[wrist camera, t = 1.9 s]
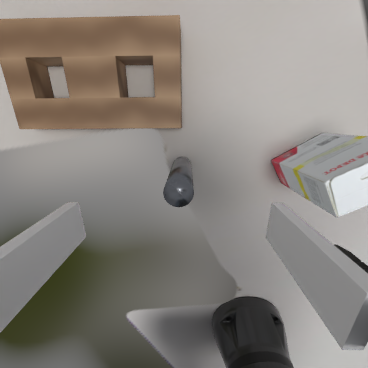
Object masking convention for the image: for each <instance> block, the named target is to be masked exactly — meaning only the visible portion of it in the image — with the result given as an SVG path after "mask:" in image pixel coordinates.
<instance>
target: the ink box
mask: <svg viewBox="0 0 368 368" xmlns="http://www.w3.org/2000/svg"><path fill="white" fill-rule="evenodd" d="M271 162H272V164H273V166H274V168H275V170H276V173H277V175H278V177H279V179H280V181H281V183H282V184H284V185H285V186H287V187H288V188H290V189H292V190H293V191H295V192H297V193H298V194H300V195H301V196H303V197H304V198H306V199H308V200H309V201H311V202H312V203H314V204H316V205H317V206H319V207H320V208H322V209H324V210H325V211H327V212H329V213H330V214H332V215H333V216H335V217H336V218H338V217H340V216H342V215H345V214H347V213H350V212H352V211H355V210H357V209H360V208H362V207H365V206H367V205H368V136H354V135H341V134H327V133H322V134H320V135H318V136H316V137H314V138H312V139H310V140H308V141H307V142H305V143H303V144H301V145H299V146H297V147H295V148H293V149H291V150H290V151H288V152H286V153H284V154H282V155H280V156H278V157H276V158H274V159H272V160H271Z"/></svg>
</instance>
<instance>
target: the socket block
mask: <svg viewBox="0 0 368 368" xmlns="http://www.w3.org/2000/svg"><path fill="white" fill-rule="evenodd" d="M0 64H1V67H2V70H3V74H4V77H5V81H6V84H7V87H8V91H9V94H10V98H11V101H12V105H13V108H14V111H15V115H16V118H17V122H18V125H19V128H20V129H109V128H182V102H181V27H180V15H172V16H123V17H74V18H25V19H0ZM125 65H153V69H154V88H155V97H132V98H128V89H127V79H126V69H125ZM47 66H64V71H65V76H66V81H67V86H68V92H69V97H70V98H54V96H53V91H52V87H51V82H50V78H49V73H48V69H47Z"/></svg>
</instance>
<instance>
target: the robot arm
mask: <svg viewBox="0 0 368 368" xmlns="http://www.w3.org/2000/svg"><path fill="white" fill-rule="evenodd" d="M85 237H86V234H85V228H84V224H83V219H82V215H81V210H80V206H79V203H78V202H68V203H66V204H65V205H63V206H62V207H60V208H58V209H57V210H55V211H54V212H52V213H51V214H49V215H48V216H46V217H45V218H43V219H42V220H40V221H39V222H37V223H36V224H34V225H33V226H32V227H30V228H28V229H27V230H25V231H24V232H22V233H21V234H19V235H18V236H16V237H15V238H13V239H12V240H10V241H8V242H7V243H6V244H4V245H3V246H1V247H0V332H1V331H2V330H3V329H4V328H5V327H6V326H7V324H8V323H9V322H10V321H11V320H12V319H13V318H14V316H15V315H16V314H17V313H18V312H19V311H20V310H21V309H22V308H23V307H24V305H25V304H26V303H27V302H28V301H29V300H30V298H31V297H33V295H34V294H35V293H36V292H37V291H38V290H39V289H40V288H41V286H42V285H43V284H44V283H45V282H46V281H47V280H48V278H50V276H51V275H52V274H53V273H54V272H55V271H56V270H57V268H58V267H59V266H60V265H61V264H62V263H63V262H64V261H65V260H66V258H67V257H68V256H69V255H70V254H71V253H72V252H73V251H74V250H75V248H76V247H77V246H78V245H79V244H80V243H81V242H82V241H83V239H84V238H85ZM266 239H267V240H268V241H269V243H270V244H271V246H272V247H273V249H274V250H275V252H276V253H277V255H278V256H279V258H280V259H281V261H282V262H283V264H284V265H285V266H286V268H287V269H288V271H289V272H290V274H291V275H292V277H293V278H294V280H295V281H296V283H297V284H298V286H299V287H300V288H301V290H302V291H303V293H304V294H305V296H306V297H307V299H308V300H309V302H310V303H311V305H312V306H313V308H314V309H315V311H316V312H317V313H318V315H319V316H320V318H321V319H322V321H323V322H324V324H325V325H326V327H327V328H328V330H329V331H330V333H331V334H332V336H333V337H334V338H335V340H336V341H337V343H338V344H339V346H340V347H341V349H342V350H364V348H365V346H366V344H367V342H368V266H367V265H366V264H365V263H363V262H361V260H360V259H358V258H357V257H356V256H355V255H353V254H352V253H351V252H349V251H347V250H346V249H344V248H342V247H340V246H338V245H333V244H332V243H331V242H330V241H328V240H327V239H326V238H325V237H324V236H322V235H321V234H320V233H319V232H318V231H316V230H315V229H314V228H313V227H312V226H310V225H309V224H308V223H307V222H306V221H304V220H303V219H302V218H301V217H300V216H298V215H297V214H296V213H295V212H294V211H293V210H291V209H290V208H289V207H288V206H287V205H285V204H284V203H272V205H271V211H270V217H269V222H268V228H267V234H266ZM212 327H213V334H214V338H215V341H216V343H217V346H218V348H219V350H220V353H221V355H222V358H223V360H224V363H225V365H226V367H227V368H294V367H293V365H292V363H291V360H290V357H289V351H288V346H287V340H286V334H285V328H284V324H283V321H282V319H281V317H280V315H279V312H278V311H277V309H276V308H275V307H274V306H273V305H272V304H271V303H269V302H268V301H266V300H263V299H260V298H254V297H243V298H237V299H234V300H231V301H229V302H226V303H225V304H223V305H222V306H220V307H219V308H218V309H217V311H216V312H215V314H214V316H213V319H212Z"/></svg>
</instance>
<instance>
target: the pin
mask: <svg viewBox="0 0 368 368" xmlns="http://www.w3.org/2000/svg"><path fill="white" fill-rule="evenodd" d="M163 194H164V198H165V200H166V201H167V202H168V203H169V204H170V205H172V206H175V207H183V206H185V205H187V204H189V203H190V202H191V200H192V199H193V195H194V190H193V179H192V168H191V162H190V161H189V159H187V158H185V157H179V158H177V159H176V160H175V161H174V163H173V166H172V168H171V171H170V174H169V176H168V179H167V182H166V185H165V187H164V192H163Z"/></svg>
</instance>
